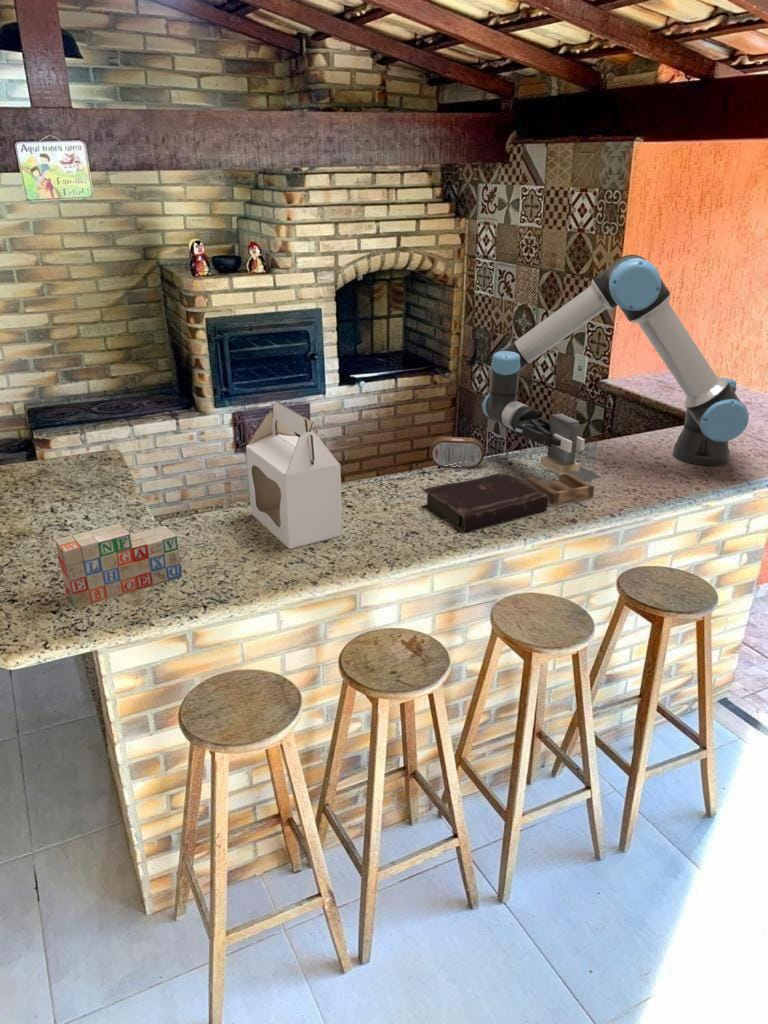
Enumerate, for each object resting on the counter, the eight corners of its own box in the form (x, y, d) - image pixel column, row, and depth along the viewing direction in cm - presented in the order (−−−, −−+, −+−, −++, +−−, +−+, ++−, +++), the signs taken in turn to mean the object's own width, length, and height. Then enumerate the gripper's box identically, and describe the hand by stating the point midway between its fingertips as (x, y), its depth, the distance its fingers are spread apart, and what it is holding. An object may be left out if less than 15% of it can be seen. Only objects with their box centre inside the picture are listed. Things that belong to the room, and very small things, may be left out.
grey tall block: (559, 461, 196) (565, 412, 190) (579, 471, 189) (585, 421, 184) (540, 464, 193) (545, 415, 188) (559, 474, 187) (564, 424, 181)
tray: (563, 482, 201) (565, 470, 200) (592, 498, 191) (594, 486, 190) (525, 489, 197) (526, 477, 195) (552, 506, 187) (553, 494, 185)
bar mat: (578, 466, 212) (578, 465, 212) (601, 478, 204) (601, 477, 203) (548, 471, 208) (548, 470, 208) (571, 484, 200) (571, 482, 200)
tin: (483, 465, 213) (485, 437, 209) (483, 469, 210) (485, 440, 206) (429, 463, 214) (430, 435, 211) (429, 467, 211) (430, 439, 208)
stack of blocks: (171, 565, 159) (164, 511, 154) (182, 577, 154) (176, 522, 149) (65, 595, 148) (54, 538, 143) (74, 609, 143) (63, 550, 138)
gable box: (343, 536, 172) (340, 416, 160) (289, 550, 165) (282, 426, 154) (300, 502, 189) (295, 392, 177) (250, 514, 183) (241, 400, 171)
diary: (547, 513, 185) (549, 494, 183) (464, 536, 173) (465, 516, 171) (499, 487, 199) (501, 469, 197) (419, 506, 188) (420, 488, 186)
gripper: (545, 429, 207) (601, 456, 188) (495, 436, 201) (547, 465, 182) (548, 402, 204) (605, 427, 185) (497, 408, 198) (550, 435, 179)
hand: (576, 445), depth 183 cm, fingers closed on grey tall block, 3 cm apart
